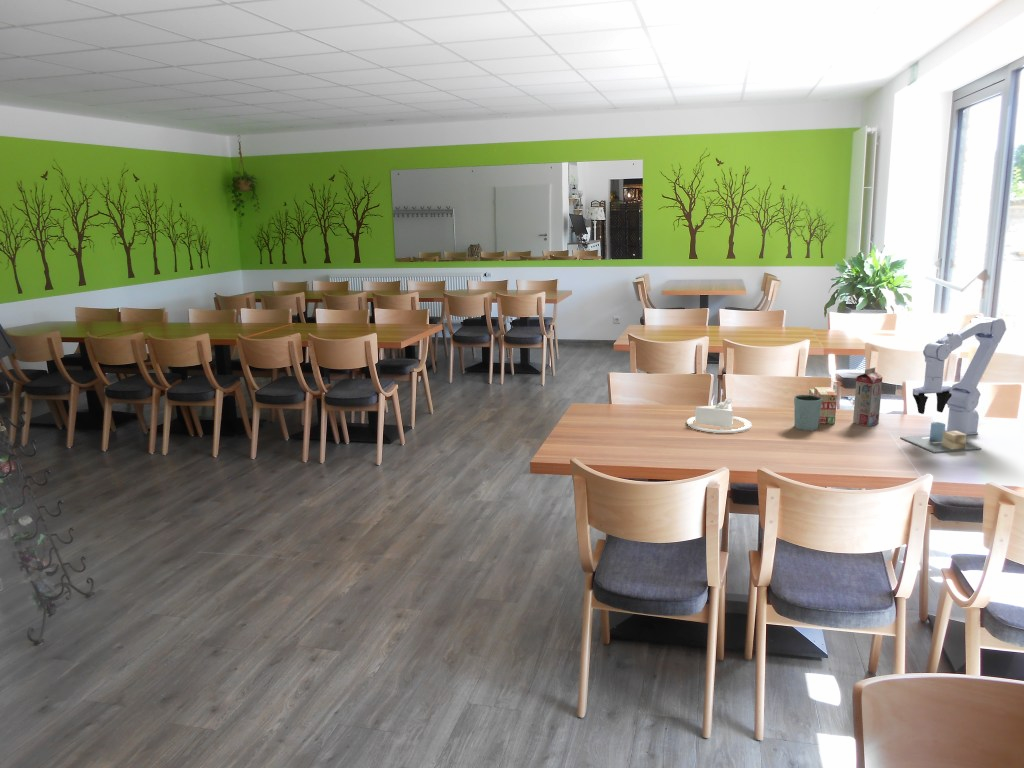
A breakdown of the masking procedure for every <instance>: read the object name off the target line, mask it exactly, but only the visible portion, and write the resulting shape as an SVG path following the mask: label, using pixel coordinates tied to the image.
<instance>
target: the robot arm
mask: <svg viewBox="0 0 1024 768" xmlns="http://www.w3.org/2000/svg"><path fill="white" fill-rule="evenodd" d="M1006 331H1007V327H1006V322H1005V320H1004V319H1003V318H1000V317H999V318H996V317H988V316H982V315H976V316H974V317H973V318H971V319H970V321H969V323H968V324H967V325H965V326H964V327H963V328H961V329H959V330H958V331H957V332H947V334H946V335H945V336H943V337H941V338H939V339H938V340H936V341H935V342H929V343H927V344H926V345H925V346H924V349H923V351H922V353H923V356H924V361H925V372H924V383H923V385H922V386H920V387H917V388H916V387H915V388H912V397H913V398H914V400H915V403H916V407H917V412H918V414H921V415H924V414H925V410H926V404H927V401H928V398H929V396H926V395H928V394H936V411H937V412H939V413H943V412H944V409H945V406H947V408H948V416H947V417H948V419H947V426H946V427H945V431H958V432H961V433H964V434H966V435H968V436H969V435H978V433H979V432H978V427H979V419H980V417H979V413H978V411H977V409H976V408H977V407H978V404H979V401H980V400H979V399H980V397H981V392H980V390H979V389H978V388H977V387H978V385H979V383H980V381H981V379H982V377H983V375H984V374H985V371H986V369H987V367H988V365H989V363H990V362H991V360H992V358H993V355H994V353H995V352H996V349H997V348H998V346H999V344H1000V343H1001V341H1002V338H1003V336H1004V335H1005V332H1006ZM972 337H975V339H976V340H977V341H978V343H979V345H978V347H977V349H976V351H975V353H974V355H973V357H972V359H971V361H970V363H969V364H968V367H967V369H966V371H965V373H964V374H963V377H962V378H961V380H960V381H959V382H957V383H954V384H952V386H949V385H944V386H943V380H944V368H945V361H946V360H947V359H948V358H949V356H950V354H951V353H952V352H953V351H955V350H956V349H958V348H960V347H962V345H963V341H966V340H967V339H969V338H972Z"/></svg>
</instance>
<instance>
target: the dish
mask: <svg viewBox="0 0 1024 768" xmlns="http://www.w3.org/2000/svg"><path fill="white" fill-rule="evenodd" d="M733 402H734V400H733V399H732V398H731V397H727V398H725V399H724V401H721V402H718V403H717V404H715V405H701V406H695V410H694V411H695V412H694V413H695V414H694V415H695V416H691V417H688V419H687V420H686V425H687V424H688V425H689V426H690V427H692V428H695V429H698V430H702V431H707V432H714V433H713V434H715V433H735V434H737V433H736V432H742V433H744V432H743V431H745V432H747V431H746V430H748V431H750V430H751V429H752V428H751V427H753V424H752V422H751V421H750V420H748V419H746V418H743V417H740V416H736V415H735V416H734V410H733V408H732V406H731V404H732V403H733ZM733 419H736V420H739V421H741V422H743V423H744V425H745V426H744V427H741V428H738V429H731V430H727V429H726V430H724V429H722V428H720V430H717V429H708V428H703V427H700V426H697V425H695V424H693V421H694V420H695V423H700V424H706V425H713V426H720V427H728V428H732V424H733ZM690 427H689V428H690ZM750 428H751V429H750ZM749 429H750V430H749Z"/></svg>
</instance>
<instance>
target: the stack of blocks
mask: <svg viewBox="0 0 1024 768" xmlns="http://www.w3.org/2000/svg"><path fill="white" fill-rule="evenodd" d="M808 391H809V393H808V395H814V396H819V397H821V398H822V404H821V409H820V418H819V423H824V424H823V425H826V424H825V423H829V424H828V425H835V424H836V412H837V404H838V403H837V400H838V393H836V391H835V390H834V389H833V388H831V387H830V386H826V387H825V386H814V388H809V390H808Z"/></svg>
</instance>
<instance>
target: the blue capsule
mask: <svg viewBox="0 0 1024 768" xmlns="http://www.w3.org/2000/svg"><path fill="white" fill-rule="evenodd" d="M945 428H946V423H943V422H939V421H938V422H937V421H936V422H935V421H933V422H931V423H930V432H929V435H930V440H931V441H935V442H942V440H943V432H945Z"/></svg>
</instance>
